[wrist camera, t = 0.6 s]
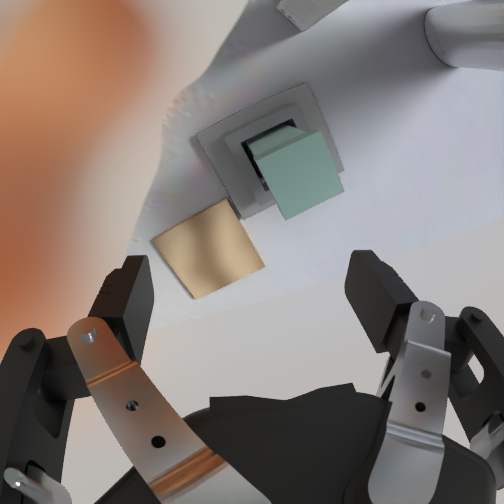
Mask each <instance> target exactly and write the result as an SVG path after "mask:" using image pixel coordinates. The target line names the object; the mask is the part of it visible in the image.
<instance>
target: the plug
mask: <svg viewBox="0 0 504 504" xmlns="http://www.w3.org/2000/svg"><path fill="white" fill-rule="evenodd" d="M245 142H246V144H247V146H248V148H249V150H250V151H251V153H252V155H253V158H254V160H255V162H256V164H257V166H258V168H259V170H260V172H261V174H262V176H263V178H264V180H265V181H266V183H267V185H268V187H269V189H270V191H271V193H272V195H273V197H274V199H275V201H276V204H277V206H278V208H279V210H280V212H281V214H282V215H283V217H284V219H285V220H287V219H289V218H291V217H293V216H296V215H298V214H300V213H302V212H304V211H306V210H308V209H310V208H312V207H314V206H316V205H318V204H320V203H322V202H324V201H326V200H328V199H330V198H332V197H334V196H336V195H338V194H340V193H342V192H344V189H343V186H342V183H341V181H340V178H339V175H338V173H337V170H336V167H335V165H334V162H333V160H332V157H331V155H330V152H329V150H328V147H327V145H326V142H325V140H324V137H323V135H322V133H321V131H320V130H317V129H312V130H309V131H307V132H305V131H302V130H300V129H297V128H294V127H292V126H289V125H286V124H283V123H282V124H280V125H278V126H276V127H274V128H271V129H269V130H267V131H265V132H263V133H261V134H259V135H257V136H255V137H253V138H251V139H249V140H247V141H245Z"/></svg>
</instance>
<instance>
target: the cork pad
mask: <svg viewBox="0 0 504 504" xmlns="http://www.w3.org/2000/svg"><path fill="white" fill-rule="evenodd" d="M152 241H153V243H154V244H155V245H156V247H157V248H158V250H159V251H160V252H161V254H162V255H163V256H164V258H165V259H166V260H167V262H168V263H169V265H170V266H171V267H172V269H173V270H174V271H175V273H176V274H177V275H178V277H179V278H180V279H181V280H182V282H183V283H184V284H185V286H186V287H187V288H188V290H189V291H190V292H191V293H192V295H193V296H194V297H195V299H196V300H197V299H199V298H201V297H204V296H206V295H208V294H210V293H212V292H214V291H216V290H218V289H220V288H222V287H224V286H226V285H229V284H231V283H233V282H235V281H237V280H239V279H241V278H243V277H245V276H247V275H249V274H251V273H253V272H255V271H257V270H259V269H261V268H263V267H265V265H264V263H263V261H262V259H261V258H260V256H259V254H258V252H257V251H256V249H255V247H254V245H253V244H252V242H251V240H250V238H249V237H248V235H247V233H246V231H245V230H244V228H243V226H242V224H241V222H240V221H239V219H238V217H237V216H236V214H235V212H234V210H233V209H232V207H231V205H230V203H229V202H228V200H227V198H225V199H224V200H222V201H220V202H218V203H216V204H214V205H212V206H210V207H209V208H207V209H205V210H203V211H201V212H199V213H198V214H196V215H194V216H192V217H190V218H188V219H187V220H185V221H183V222H181V223H179V224H178V225H176V226H174V227H172V228H171V229H169V230H167V231H165V232H164V233H162V234H160V235H158V236H157V237H155V238H153V240H152Z"/></svg>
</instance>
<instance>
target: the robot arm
mask: <svg viewBox="0 0 504 504" xmlns="http://www.w3.org/2000/svg"><path fill="white" fill-rule="evenodd" d="M425 33H426V36H427V40H428V42H429V44H430V46H431V48H432V50H433V51H434V53H435V54H436V55H437V56H438V58H439V59H440V60H442V61H443V62H444V63H445V64H447V65H449V66H452V67H464V68H476V69H488V70H498V71H504V0H472V1H465V2H459V3H453V4H447V5H442V6H438V7H434V8H432V9H430V10H429V11H428V12H427V14H426V17H425ZM345 294H346V297H347V299H348V301H349V303H350V304H351V306H352V308H353V310H354V312H355V313H356V315H357V317H358V319H359V321H360V323H361V324H362V326H363V328H364V330H365V332H366V334H367V336H368V338H369V339H370V341H371V343H372V345H373V347H374V348H375V351H376V353H382V352H388V351H389V353H390V356H389V357H388V360H387V363H386V366H385V369H384V372H383V375H382V379H381V382H380V385H379V388H378V391H377V394H376V396H374V395H371V394H366V393H360V392H356V390H355V388H354V385H353V383H348V384H343V385H336V386H330V387H324V388H319V389H316V390H314V391H311V392H309V393H306V394H303V395H300V396H297V397H295V398H292V399H289V400H277V399H268V398H260V397H253V396H229V397H210V407H209V408H205V409H202V410H199V411H196V412H194V413H191V414H189V415H187V416H186V417H184V418H181V417H180V416H179V415H178V414H177V412H176V411H175V410H174V409H173V408H172V406H171V405H170V404H169V403H168V402H167V400H166V399H165V398H164V397H163V396H162V394H161V393H160V392H159V391H158V389H157V388H156V386H155V385H154V384H153V383H152V381H151V380H150V379H149V377H148V376H147V375H146V373H145V372H144V371H143V369H142V368H141V367H140V365H141V360H142V355H143V349H144V345H145V340H146V336H147V331H148V327H149V322H150V318H151V313H152V309H153V305H154V289H153V283H152V278H151V272H150V266H149V260H148V257H147V255H133V256H127V258H126V260H125V262H124V264H123V266H122V268H121V269H114V270H113V271H112V272H111V273H110V274H109V275H108V276H106V279H105V280H104V283H103V285H102V287H101V289H100V291H99V294H98V295H97V297H96V299H95V301H94V303H93V306H92V308H91V310H90V312H89V314H88V317H87V318H83V319H81V320H79V321H77V322H75V323H74V324H73V325H72V326H71V327H70V329H69V330H68V333H67V336H62V337H57V338H52V339H46V338H45V336H44V334H43V332H42V331H41V330H39V329H36V328H29V329H25V330H23V331H21V332H19V333H18V334H17V335H16V336H15V337H14V338H13V339H12V341H11V343H10V345H9V347H8V349H7V351H6V353H5V356H4V357H3V360H2V362H1V364H0V504H72V500H71V497H70V494H69V493H68V491H67V490H66V489H65V487H64V486H63V485H61V477H62V469H63V462H64V455H65V448H66V442H67V436H68V431H69V426H70V420H71V416H72V411H73V406H74V402H75V399H77V398H83V397H89V396H92V397H93V399H94V401H95V403H96V404H97V407H98V408H99V410H100V412H101V414H102V416H103V417H104V419H105V421H106V423H107V424H108V426H109V428H110V429H111V431H112V433H113V434H114V436H115V438H116V439H117V441H118V442H119V444H120V446H121V447H122V449H123V450H124V452H125V453H126V455H127V456H128V458H129V459H130V461H131V462H132V464H133V465H134V466H133V467H132V468H131V469H130V470H129V471H128V472H127V473H126V474H125V475H124V476H123V477H122V478H121V479H119V481H118V482H116V483H115V484H114V485H113V486H112V487H111V488H110V489H109V490H108V491H107V492H106V493H105V494H104V495H103V496H102V497H101V498H99V500H97V501H96V502H95V503H94V504H496V490H500V489H502V488H504V337H503V335H502V334H501V333H500V331H499V330H498V329H497V328H496V326H495V325H494V324H493V322H492V321H491V320H490V319H489V317H488V316H487V315H486V314H485V313H484V312H483V311H481V310H480V309H478V308H475V307H470V306H469V307H465V308H464V309H462V311H461V314H460V315H459V317H448V316H445V315H444V313H443V311H442V310H441V309H440V308H439V307H438V306H436V305H435V304H433V303H430V302H427V301H419V300H418V298H417V297H416V296H415V295H414V293H413V292H412V291H411V290H410V289H409V287H408V286H407V285H406V284H405V283H404V282H403V280H402V279H401V278H400V277H399V276H398V274H397V273H396V271H395V270H394V269H393V268H392V267H390V266H389V265H388V264H386V263H384V262H383V261H381V260H380V259H379V258H378V257H377V256H376V254H375V253H374V252H373V251H372V250H354V251H353V252H352V254H351V258H350V262H349V267H348V271H347V276H346V280H345ZM474 354H475V356H476V357H477V359H478V361H479V362H480V364H481V365H482V367H483V369H484V378H483V380H482V382H481V383H480V384H479V382H478V380H477V379H476V377H475V375H474V374H473V372H472V370H471V369H470V367H469V365H468V363H469V361H470V359H471V358H472V356H473V355H474ZM448 397H449V399H450V401H451V403H452V406H453V407H454V410H455V412H456V414H457V416H458V418H459V420H460V422H461V424H462V427H463V429H464V431H465V433H466V436H467V438H468V440H469V442H470V450H469V449H467V448H466V447H464V446H462V445H460V444H458V443H457V442H455V441H453V440H451V439H450V438H448V437H446V436H445V435H443V434H442V432H443V427H444V420H445V413H446V407H447V398H448Z"/></svg>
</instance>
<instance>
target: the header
mask: <svg viewBox="0 0 504 504" xmlns="http://www.w3.org/2000/svg"><path fill="white" fill-rule="evenodd" d="M285 121H288V123H289V125H290V126H292V127H294V128H297V129H300V130H302V131H305V132H307V131H309V130H312V129H317V130H320V131H321V133H322V135H323V137H324V140H325V142H326V145H327V147H328V150H329V152H330V155H331V157H332V160H333V162H334V165H335V167H336V170H337V173H340V172H342V171H344V168H343V165H342V163H341V160H340V157H339V155H338V152H337V150H336V147H335V144H334V142H333V139H332V137H331V135H330V132H329V130H328V127H327V125H326V122H325V120H324V118H323V115H322V113H321V111H320V109H319V106H318V104H317V102H316V100H315V97H314V95H313V93H312V91H311V89H310V87H309V84H308V82H306V83H303V84H300V85H298V86H295V87H293V88H290V89H288V90H286V91H283V92H281V93H279V94H276V95H274V96H272V97H270V98H267V99H265V100H263V101H261V102H259V103H256V104H254V105H252V106H250V107H248V108H246V109H244V110H242V111H240V112H238V113H236V114H234V115H232V116H230V117H228V118H226V119H224V120H222V121H220V122H218V123H216V124H214V125H212V126H210V127H209V128H207V129H205V130H203V131H201V132H199V133H197V134H196V135H195V136H196V137H197V139H198V141H199V143H200V144H201V146H202V148H203V150H204V151H205V153H206V155H207V157H208V158H209V160H210V162H211V164H212V165H213V167H214V169H215V171H216V172H217V174H218V176H219V178H220V179H221V181H222V183H223V185H224V186H225V188H226V190H227V192H228V193H229V195H230V197H231V199H232V200H233V202H234V204H235V206H236V208H237V209H238V211H239V213H240V215H241V216H242V218H243V220H245V219H247V218H249V217H251V216H253V215H255V214H257V213H259V212H261V211H263V210H265V209H267V208H269V207H271V206H273V205H275V204H276V201H275V199H274V197H273V195H272V193H271V191H270V189H269V187H268V185H267V183H266V181H265V182H263V183H261V182H260V180H259V178H258V176H257V174H256V172H255V170H254V168H253V166H252V164H251V162H250V161H249V159H248V157H247V155H246V153H245V151H244V149H243V147H242V145H241V142H243V141H245V140H247V139H249V138H251V137H253V136H255V135H257V134H259V133H261V132H263V131H265V130H268V129H270V128H272V127H274V126H276V125H278V124H280V123H283V122H285Z"/></svg>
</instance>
